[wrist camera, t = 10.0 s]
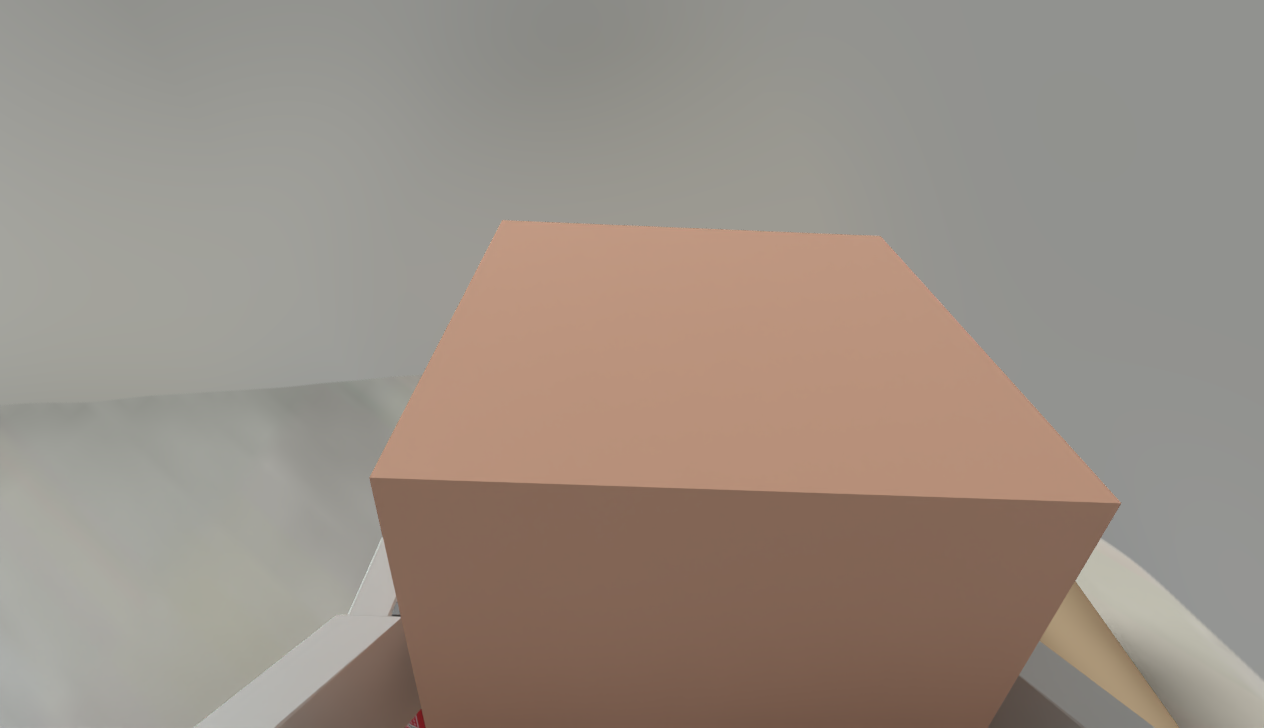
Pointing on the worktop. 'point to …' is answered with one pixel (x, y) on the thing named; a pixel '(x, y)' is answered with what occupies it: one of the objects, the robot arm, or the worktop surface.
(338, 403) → the worktop surface
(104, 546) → the worktop surface
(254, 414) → the worktop surface
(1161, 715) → the tower top
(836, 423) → the tall block
